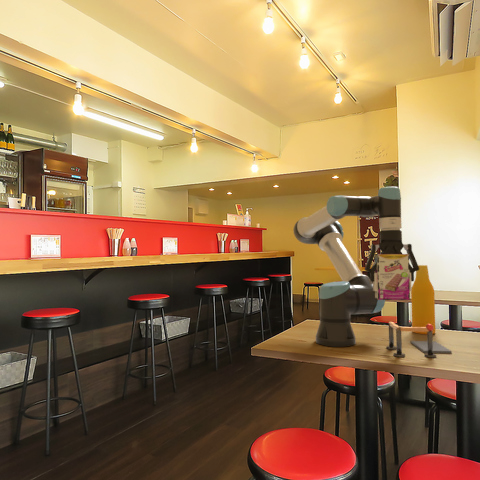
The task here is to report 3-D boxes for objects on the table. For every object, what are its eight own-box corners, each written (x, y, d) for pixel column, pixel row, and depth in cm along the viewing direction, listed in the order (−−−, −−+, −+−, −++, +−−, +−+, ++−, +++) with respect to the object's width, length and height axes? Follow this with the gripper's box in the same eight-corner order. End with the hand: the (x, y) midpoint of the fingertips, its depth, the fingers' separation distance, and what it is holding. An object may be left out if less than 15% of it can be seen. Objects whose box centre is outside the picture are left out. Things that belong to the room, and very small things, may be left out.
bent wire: (395, 357, 131) (394, 324, 131) (385, 347, 144) (384, 317, 144) (438, 358, 129) (437, 325, 129) (423, 347, 142) (423, 318, 143)
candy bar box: (378, 300, 138) (377, 254, 139) (374, 298, 143) (373, 254, 144) (411, 300, 137) (409, 253, 138) (406, 298, 142) (404, 253, 143)
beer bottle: (422, 335, 164) (420, 265, 164) (407, 331, 172) (405, 265, 173) (440, 333, 166) (438, 265, 167) (424, 329, 175) (423, 264, 176)
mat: (424, 353, 135) (424, 350, 135) (410, 342, 150) (410, 340, 150) (451, 353, 134) (451, 351, 134) (435, 343, 149) (435, 341, 149)
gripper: (359, 230, 139) (360, 291, 138) (428, 228, 136) (430, 291, 136) (355, 231, 146) (356, 290, 145) (420, 229, 144) (422, 289, 143)
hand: (392, 290), depth 140 cm, fingers closed on candy bar box, 11 cm apart
